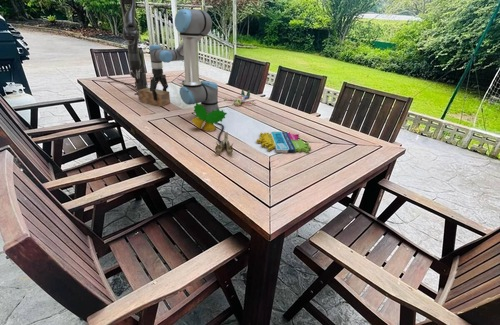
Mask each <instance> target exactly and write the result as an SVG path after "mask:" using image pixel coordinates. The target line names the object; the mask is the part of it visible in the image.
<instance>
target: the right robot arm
mask: <svg viewBox="0 0 500 325" xmlns="http://www.w3.org/2000/svg"><path fill="white" fill-rule="evenodd" d="M174 27H175V30H176V31H177V32H178V33H179V36H180V37H181V39H182V42H181V43H180V44H179V45H178V47H177V48H175V49H162V48H161V45H159V44H150V45H149V56H150V64H151V65H150V66H151V74H152V75H153V76H150V77H149V78H150V82H149V83H150V84H149V88H150V91H152V93H153V98H154V100H156V101H157V93H156V92H155V91H156V89H157V86H158V84H159V82H160V85H161V86H162V90H163V91H168V90H167V89H168V88H169V83H168V80H167V78H166V74H164V69H163V67H164V66H163V63H165V64H167V63H170V62H179V61H183V62H184V63H183V64H184V65H183V67H184V80H185V81H184V82H183V83H182V86H181V87H180V88H179V96H180V99H181V101H182V102H183V103H184V104H186V105H188V106H191V105H196V102H197V103H198V104H201V106H204V109H206V112H208V113H211V112H212V110H214V111H216V110H217V109H219V111H221V110H220V108H219V102H218V99H219V98H218V97H219V88H218V84H217V82H214V81H210V80H199V79H200V70H199V69H200V68H199V66H200V65H199V43H200V41H201V40H202V39H203V37H204V38H205V37H207V36H208V34H210V32H211V30H212V27H213V21H212V18H211V16H210V14H209V13H208V12H206V11H205V10H202V9H191V8H180V9H178V10H177V12H176V13H175V16H174ZM208 113H207V115H208ZM215 124H216V125H219V126H221V127H222V128H221V131H220V132H219V134H218V137H217V139H218V140H217V141H218V142H219V143H220V144H221V141H222V140H221V139H220V137H221V135H222V133H223V131H224V128H225V126H224V124H222V123H220V122H218V123H215Z"/></svg>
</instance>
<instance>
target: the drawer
mask: <svg viewBox="0 0 500 325" xmlns="http://www.w3.org/2000/svg"><path fill="white" fill-rule="evenodd" d="M133 95H134V96H137V97H138V101H140V95H139V91H138V90H137V92H136V93H133Z"/></svg>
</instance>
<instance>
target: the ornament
mask: <svg viewBox="0 0 500 325" xmlns="http://www.w3.org/2000/svg"><path fill="white" fill-rule="evenodd" d="M219 110H220V108H219V109H217V110H216V111H214V110H212V112H211V113H208V112H206V109H204V106H201V103H197V102H196V104H195V105H194V106H193V112H194V113H195V118H192V119H191V122H192V123H193V125H195V127H197V128H198V129H202V130H203V131H206V132H212V131H213V132H214V131H215V130H216V126H215V124H216V123H220V122H223V119H226V115H227V114H228V113H227V112H224V110H223V109H221V110H220V111H219ZM207 113H208V115H207Z"/></svg>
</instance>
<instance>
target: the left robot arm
mask: <svg viewBox="0 0 500 325" xmlns="http://www.w3.org/2000/svg"><path fill="white" fill-rule="evenodd" d="M119 4H120V9H121V12H122V16H123V23H124V27H123V30H122V38H123V39H124V40H125V41H127V53H128V55H127V56H128V62H129V63H128V64H129V66H130V71H128V74H129V75H130V76H131V78H133V79H134V85H133V84H131V83H128V82H125V81H124V82H123V81H120V80H117V79H114V78H113V77H110V76H109V75H107V76H106V78H109V79H111V80H113V81H115V82H117V83H121V84H124V85H127V86H131V87H133V88H136V91H137V92H138V91H139V90H141V89H145V88H149V86H148V85H149V84H148V81H147V72H146V66H145V55H144V54H145V53H144V51H143V50H142V49H139V40H140V39H139V38H140V34H139V27H138V23H137V21H136V7H137V6H136V5H137V0H119ZM127 6H129V8H128V7H127Z"/></svg>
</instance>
